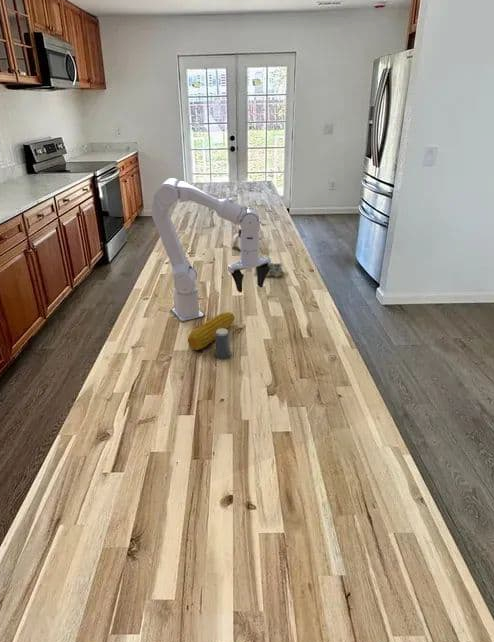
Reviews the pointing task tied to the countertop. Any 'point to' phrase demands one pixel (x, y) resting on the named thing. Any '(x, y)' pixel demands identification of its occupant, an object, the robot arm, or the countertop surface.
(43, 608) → the countertop surface
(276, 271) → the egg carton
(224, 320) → the food
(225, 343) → the shaker
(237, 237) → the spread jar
